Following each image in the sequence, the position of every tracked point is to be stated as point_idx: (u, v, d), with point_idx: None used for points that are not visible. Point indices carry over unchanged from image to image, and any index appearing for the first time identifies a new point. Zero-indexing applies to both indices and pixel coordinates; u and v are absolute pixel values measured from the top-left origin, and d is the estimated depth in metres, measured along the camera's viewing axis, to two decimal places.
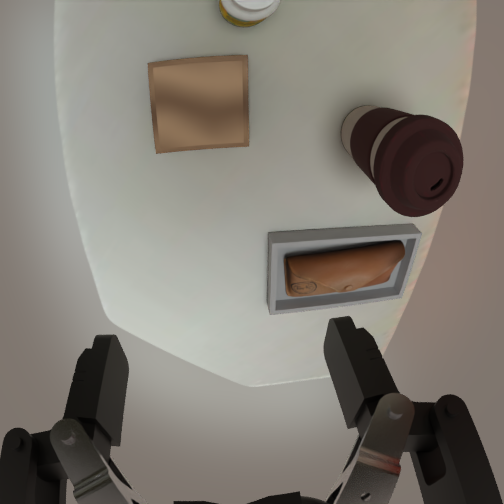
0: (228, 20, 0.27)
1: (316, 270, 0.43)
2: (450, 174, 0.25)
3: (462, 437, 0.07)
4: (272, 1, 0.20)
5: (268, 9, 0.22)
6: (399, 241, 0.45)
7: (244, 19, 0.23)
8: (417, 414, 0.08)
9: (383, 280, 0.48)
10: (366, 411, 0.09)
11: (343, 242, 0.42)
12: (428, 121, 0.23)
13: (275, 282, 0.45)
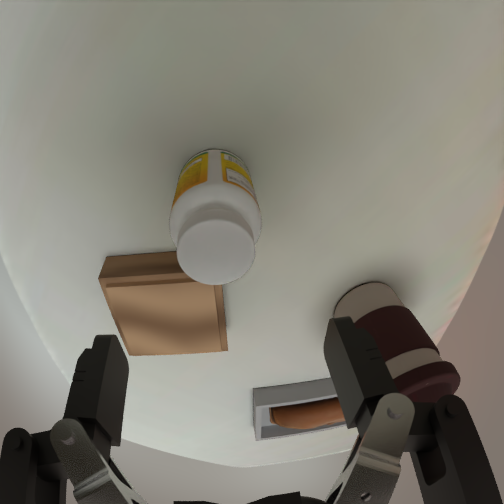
0: None
1: (299, 420, 0.40)
2: None
3: (462, 437, 0.07)
4: (245, 271, 0.17)
5: None
6: None
7: None
8: (417, 414, 0.08)
9: None
10: (366, 411, 0.09)
11: (327, 397, 0.40)
12: (427, 381, 0.20)
13: (260, 425, 0.42)
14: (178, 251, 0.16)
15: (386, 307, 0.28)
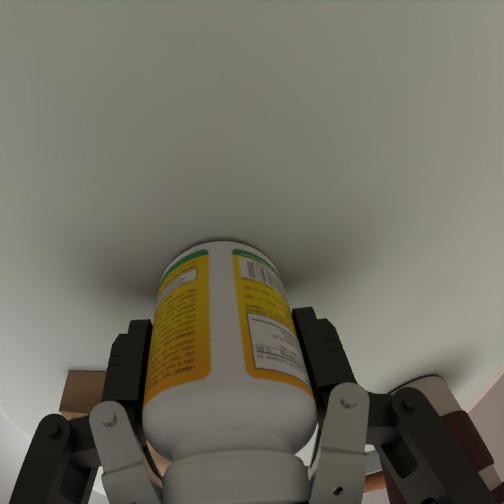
0: None
1: None
2: None
3: (427, 428, 0.07)
4: None
5: None
6: None
7: None
8: (374, 406, 0.09)
9: None
10: (322, 400, 0.09)
11: None
12: None
13: None
14: None
15: (442, 418, 0.18)
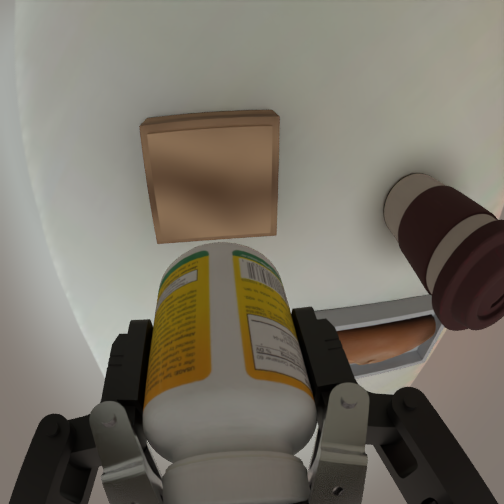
0: None
1: (346, 347, 0.36)
2: None
3: (427, 428, 0.07)
4: None
5: None
6: (431, 316, 0.39)
7: None
8: (374, 406, 0.09)
9: None
10: (321, 400, 0.09)
11: (373, 324, 0.36)
12: None
13: None
14: None
15: (441, 186, 0.25)
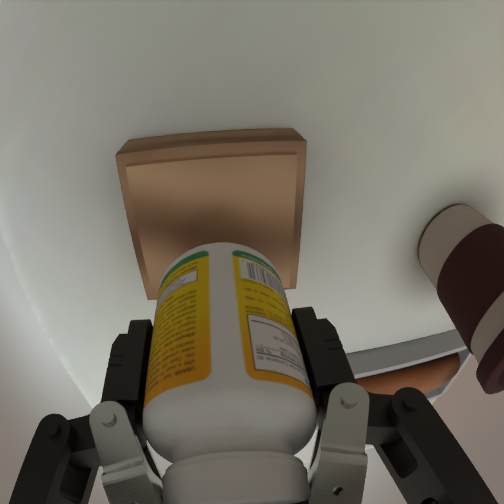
0: None
1: None
2: None
3: (427, 428, 0.07)
4: None
5: None
6: (455, 352, 0.33)
7: None
8: (374, 405, 0.09)
9: None
10: (321, 400, 0.09)
11: (396, 368, 0.31)
12: None
13: None
14: None
15: (490, 224, 0.19)
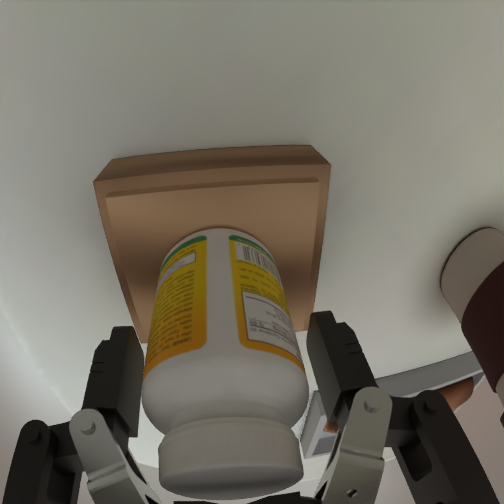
0: None
1: None
2: None
3: (445, 432, 0.07)
4: None
5: None
6: None
7: None
8: (396, 409, 0.08)
9: None
10: (344, 404, 0.09)
11: (409, 396, 0.28)
12: None
13: (317, 440, 0.30)
14: (162, 484, 0.07)
15: None
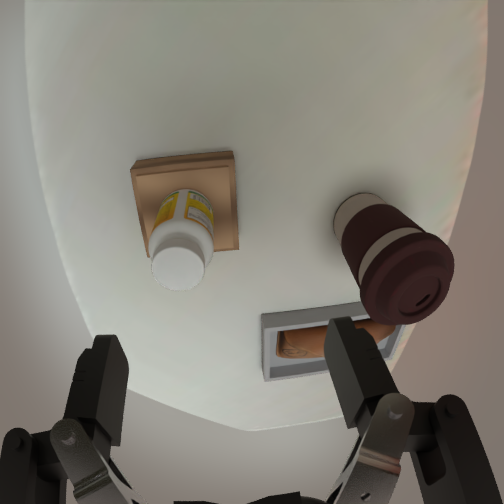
0: None
1: (310, 341, 0.43)
2: (437, 289, 0.26)
3: (462, 437, 0.07)
4: (198, 281, 0.24)
5: None
6: None
7: None
8: (417, 414, 0.08)
9: None
10: (366, 411, 0.09)
11: None
12: (420, 244, 0.25)
13: (268, 357, 0.46)
14: (152, 268, 0.23)
15: (378, 204, 0.32)
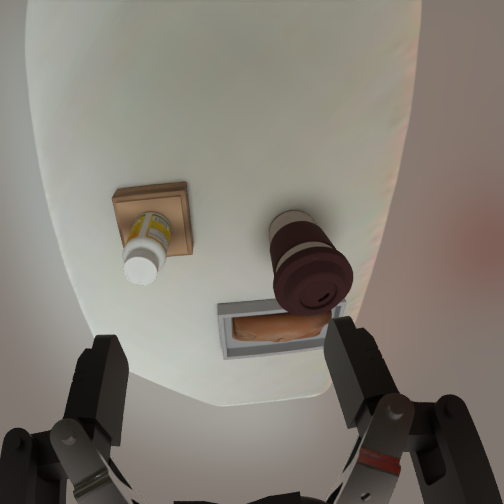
0: None
1: (255, 326, 0.55)
2: (335, 290, 0.38)
3: (462, 437, 0.07)
4: (154, 279, 0.36)
5: None
6: None
7: None
8: (417, 414, 0.08)
9: (313, 335, 0.61)
10: (366, 411, 0.09)
11: (275, 312, 0.55)
12: (314, 256, 0.36)
13: (224, 339, 0.58)
14: (124, 270, 0.35)
15: (298, 221, 0.44)
